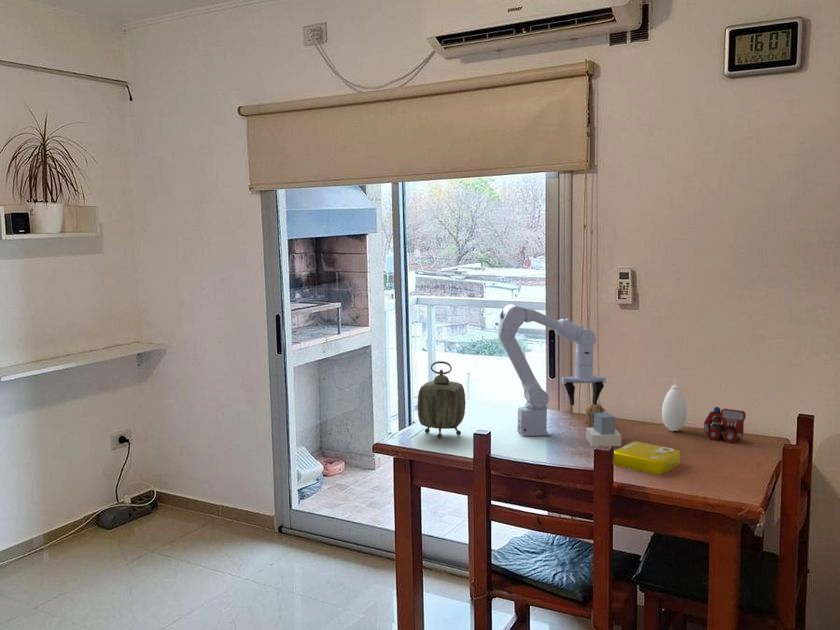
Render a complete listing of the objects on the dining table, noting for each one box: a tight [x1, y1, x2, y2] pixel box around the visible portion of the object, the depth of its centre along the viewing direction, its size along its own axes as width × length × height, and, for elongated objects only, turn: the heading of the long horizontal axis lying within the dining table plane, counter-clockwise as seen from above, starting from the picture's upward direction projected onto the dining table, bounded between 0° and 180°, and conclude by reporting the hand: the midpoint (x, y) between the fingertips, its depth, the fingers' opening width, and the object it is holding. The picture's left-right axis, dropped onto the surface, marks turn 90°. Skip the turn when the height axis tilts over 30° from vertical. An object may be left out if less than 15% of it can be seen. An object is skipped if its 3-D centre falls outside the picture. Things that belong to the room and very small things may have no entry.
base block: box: [585, 427, 622, 448], centre depth 232 cm, size 9×9×4 cm
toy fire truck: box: [703, 406, 747, 444], centre depth 235 cm, size 7×12×10 cm, turn 49°
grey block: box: [593, 411, 616, 435], centre depth 231 cm, size 4×6×6 cm
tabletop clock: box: [416, 360, 466, 439], centre depth 238 cm, size 14×9×25 cm, turn 75°
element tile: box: [613, 441, 681, 475], centre depth 210 cm, size 15×15×5 cm
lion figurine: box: [584, 402, 606, 428], centre depth 254 cm, size 15×5×9 cm, turn 5°
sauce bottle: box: [661, 377, 688, 432], centre depth 245 cm, size 8×8×18 cm
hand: (583, 404), depth 243 cm, fingers open, 7 cm apart
